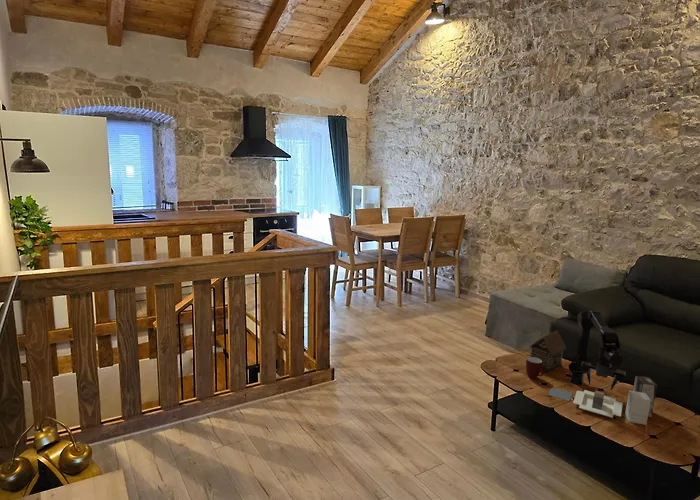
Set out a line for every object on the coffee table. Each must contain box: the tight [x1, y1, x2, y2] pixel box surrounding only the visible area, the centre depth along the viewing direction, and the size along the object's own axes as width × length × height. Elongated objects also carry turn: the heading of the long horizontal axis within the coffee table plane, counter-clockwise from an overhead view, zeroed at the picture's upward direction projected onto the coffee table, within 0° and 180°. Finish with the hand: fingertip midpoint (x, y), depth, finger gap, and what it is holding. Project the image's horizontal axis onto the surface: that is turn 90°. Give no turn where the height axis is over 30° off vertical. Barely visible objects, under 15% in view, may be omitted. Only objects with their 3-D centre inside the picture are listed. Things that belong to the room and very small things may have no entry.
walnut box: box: [592, 390, 605, 410], centre depth 225 cm, size 8×4×6 cm, turn 147°
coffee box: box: [632, 375, 658, 418], centre depth 222 cm, size 9×6×16 cm
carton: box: [572, 389, 624, 419], centre depth 226 cm, size 21×20×2 cm
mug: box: [525, 356, 545, 380], centre depth 253 cm, size 10×8×10 cm
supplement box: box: [624, 390, 651, 426], centre depth 215 cm, size 7×7×13 cm
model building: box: [529, 330, 567, 374], centre depth 269 cm, size 18×14×20 cm
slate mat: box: [547, 386, 573, 402], centre depth 236 cm, size 10×10×1 cm
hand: (600, 387), depth 224 cm, fingers open, 9 cm apart
